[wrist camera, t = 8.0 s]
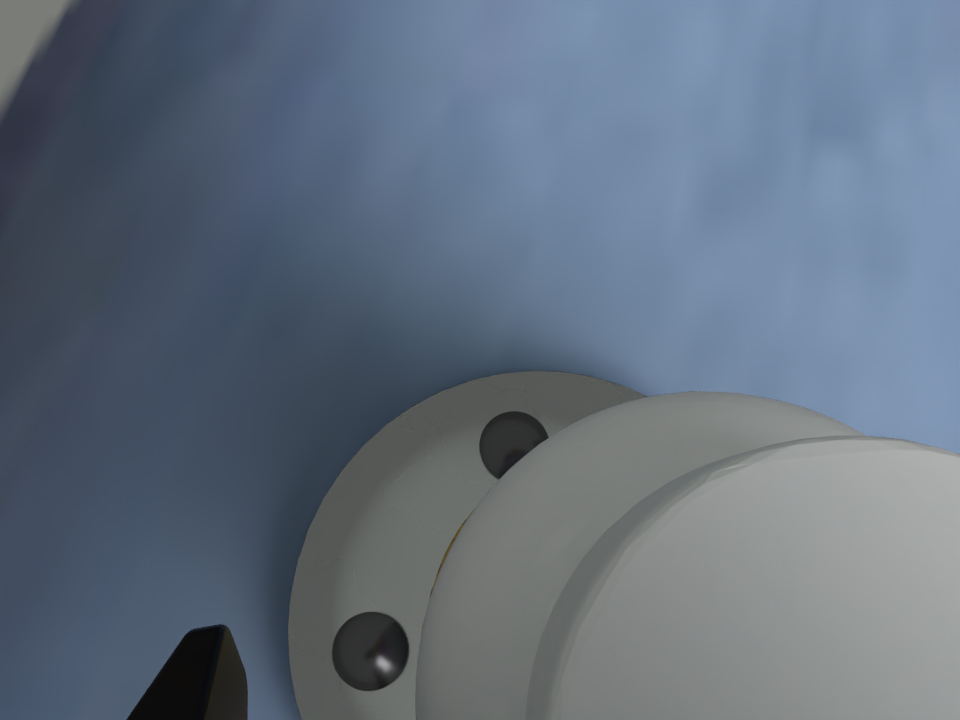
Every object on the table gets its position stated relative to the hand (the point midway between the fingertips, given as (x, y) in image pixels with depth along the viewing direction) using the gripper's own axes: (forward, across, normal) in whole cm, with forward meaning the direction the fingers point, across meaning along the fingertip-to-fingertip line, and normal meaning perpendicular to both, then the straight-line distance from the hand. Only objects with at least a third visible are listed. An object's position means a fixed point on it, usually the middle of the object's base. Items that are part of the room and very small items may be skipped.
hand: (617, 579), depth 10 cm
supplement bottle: (+5, -1, +7) cm, 9 cm away
